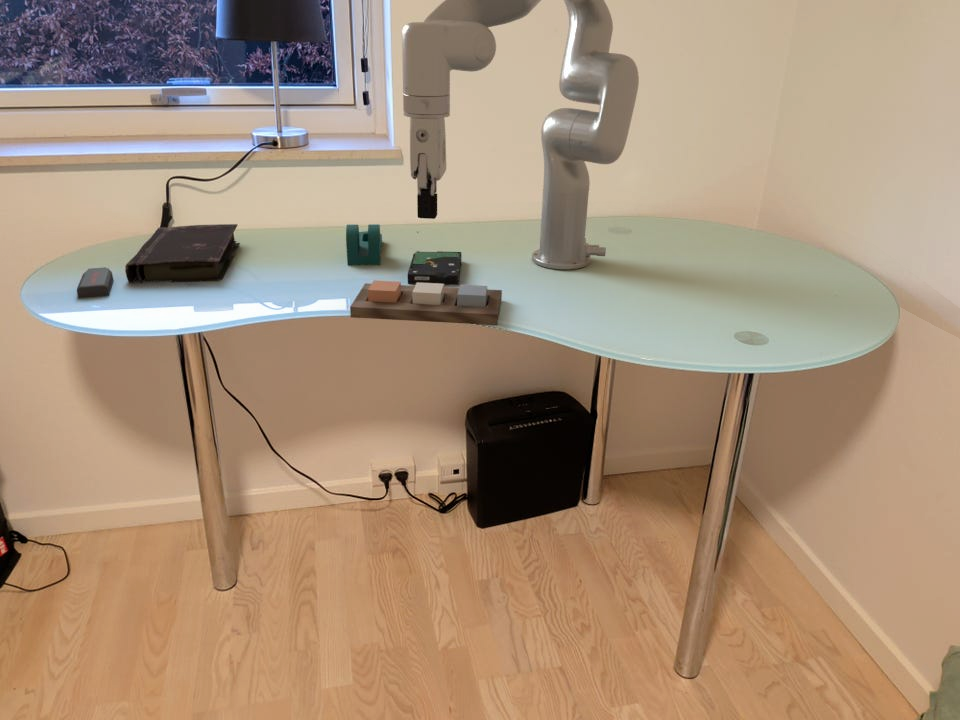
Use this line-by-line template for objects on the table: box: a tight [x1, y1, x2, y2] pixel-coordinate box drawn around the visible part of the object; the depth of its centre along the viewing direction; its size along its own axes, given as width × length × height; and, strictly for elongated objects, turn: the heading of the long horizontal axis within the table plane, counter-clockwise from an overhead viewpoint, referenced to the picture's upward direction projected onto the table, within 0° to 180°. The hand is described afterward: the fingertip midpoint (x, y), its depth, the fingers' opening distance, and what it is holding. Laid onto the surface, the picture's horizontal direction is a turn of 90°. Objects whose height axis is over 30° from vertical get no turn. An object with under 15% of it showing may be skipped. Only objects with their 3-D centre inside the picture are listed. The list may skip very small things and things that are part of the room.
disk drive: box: [407, 250, 463, 286], centre depth 154 cm, size 10×3×15 cm
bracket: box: [345, 223, 383, 266], centre depth 164 cm, size 18×7×8 cm, turn 5°
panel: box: [349, 282, 503, 326], centre depth 136 cm, size 26×12×2 cm, turn 85°
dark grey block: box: [76, 266, 115, 299], centre depth 143 cm, size 5×12×3 cm, turn 19°
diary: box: [124, 223, 241, 285], centre depth 156 cm, size 19×25×5 cm
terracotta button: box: [368, 279, 402, 303], centre depth 136 cm, size 5×5×3 cm
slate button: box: [457, 284, 488, 307], centre depth 135 cm, size 5×5×3 cm
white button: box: [412, 282, 445, 305], centre depth 136 cm, size 5×5×3 cm
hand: (427, 217), depth 129 cm, fingers closed
